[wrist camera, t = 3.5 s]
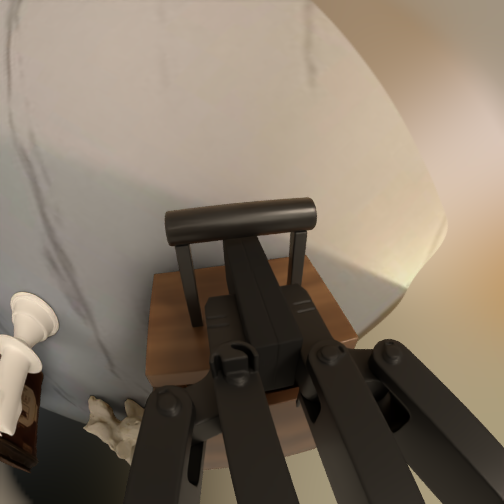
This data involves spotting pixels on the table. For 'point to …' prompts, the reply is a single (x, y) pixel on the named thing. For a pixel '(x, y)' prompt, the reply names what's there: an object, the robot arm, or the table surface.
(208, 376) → the robot arm
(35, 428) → the coffee cup
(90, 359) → the table surface
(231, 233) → the drawer
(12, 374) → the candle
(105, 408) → the bone
